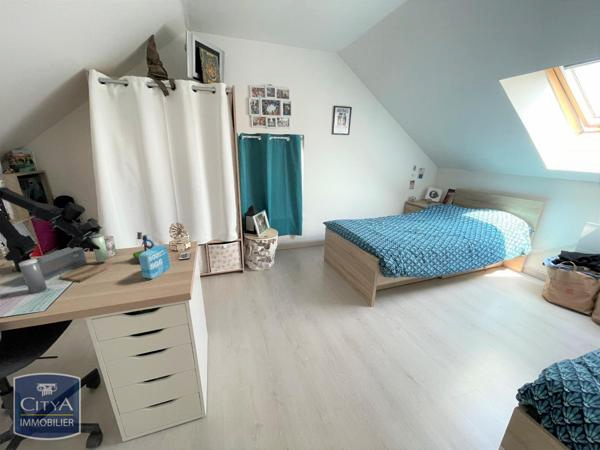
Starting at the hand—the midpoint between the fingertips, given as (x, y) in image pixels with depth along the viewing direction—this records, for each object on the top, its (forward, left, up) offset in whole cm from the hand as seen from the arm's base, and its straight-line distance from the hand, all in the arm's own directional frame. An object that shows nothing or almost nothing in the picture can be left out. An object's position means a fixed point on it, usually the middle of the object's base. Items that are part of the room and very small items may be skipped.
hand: (102, 246), depth 123 cm
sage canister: (-1, -1, -7) cm, 7 cm away
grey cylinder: (-3, -27, -9) cm, 28 cm away
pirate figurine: (+17, +9, -9) cm, 21 cm away
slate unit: (-13, -13, -9) cm, 20 cm away
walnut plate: (+1, -12, -9) cm, 14 cm away
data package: (+33, -3, -9) cm, 34 cm away
